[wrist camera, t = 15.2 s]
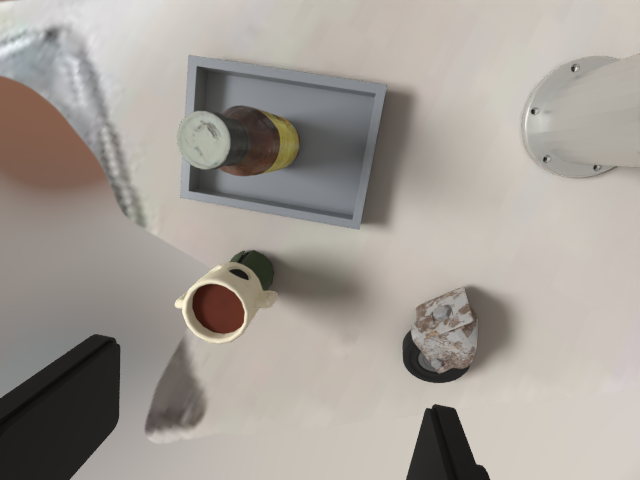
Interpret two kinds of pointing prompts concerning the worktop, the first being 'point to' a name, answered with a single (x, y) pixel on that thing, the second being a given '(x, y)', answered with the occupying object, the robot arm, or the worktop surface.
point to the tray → (315, 140)
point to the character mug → (228, 298)
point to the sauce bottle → (238, 141)
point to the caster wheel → (442, 338)
